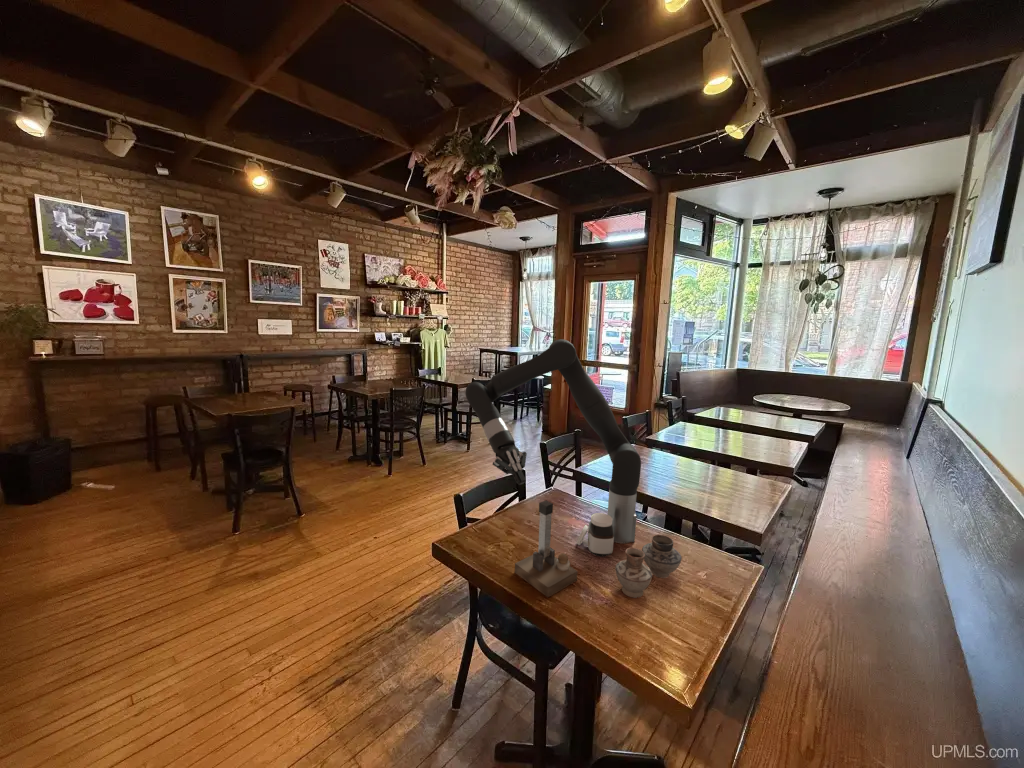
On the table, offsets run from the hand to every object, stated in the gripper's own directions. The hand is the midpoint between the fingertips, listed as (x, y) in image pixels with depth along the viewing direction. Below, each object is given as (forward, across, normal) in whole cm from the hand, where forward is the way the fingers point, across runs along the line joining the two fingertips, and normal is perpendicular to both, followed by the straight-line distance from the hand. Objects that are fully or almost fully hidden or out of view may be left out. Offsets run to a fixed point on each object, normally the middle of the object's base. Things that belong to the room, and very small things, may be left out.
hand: (522, 483), depth 125 cm
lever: (+21, 0, +6) cm, 22 cm away
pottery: (+40, +22, -4) cm, 46 cm away
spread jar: (+26, +23, +10) cm, 36 cm away
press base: (+25, 0, +10) cm, 27 cm away
